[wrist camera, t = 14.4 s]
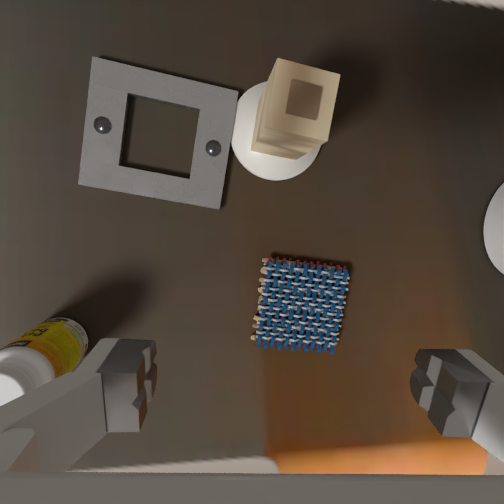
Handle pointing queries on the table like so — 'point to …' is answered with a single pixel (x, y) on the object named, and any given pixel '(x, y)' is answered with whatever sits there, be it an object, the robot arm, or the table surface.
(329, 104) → the block
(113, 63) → the rail plate
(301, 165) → the pad
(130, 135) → the table surface
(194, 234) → the table surface
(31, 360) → the supplement bottle
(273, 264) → the woven mat
